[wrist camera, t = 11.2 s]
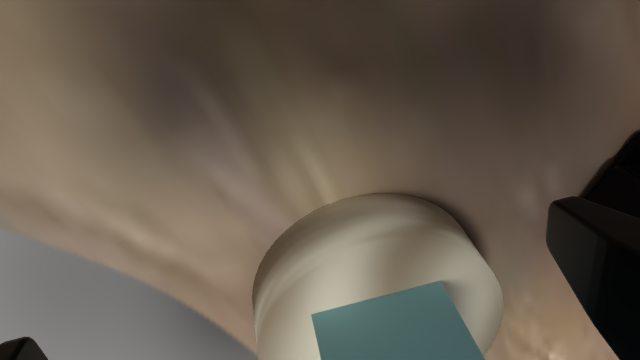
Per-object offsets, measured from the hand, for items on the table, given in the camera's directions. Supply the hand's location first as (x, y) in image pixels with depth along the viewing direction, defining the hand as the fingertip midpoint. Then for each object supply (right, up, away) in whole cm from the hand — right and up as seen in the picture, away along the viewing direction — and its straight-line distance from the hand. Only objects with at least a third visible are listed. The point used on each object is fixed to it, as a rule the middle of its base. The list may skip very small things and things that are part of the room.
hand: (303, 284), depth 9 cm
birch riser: (+3, -4, +19) cm, 19 cm away
